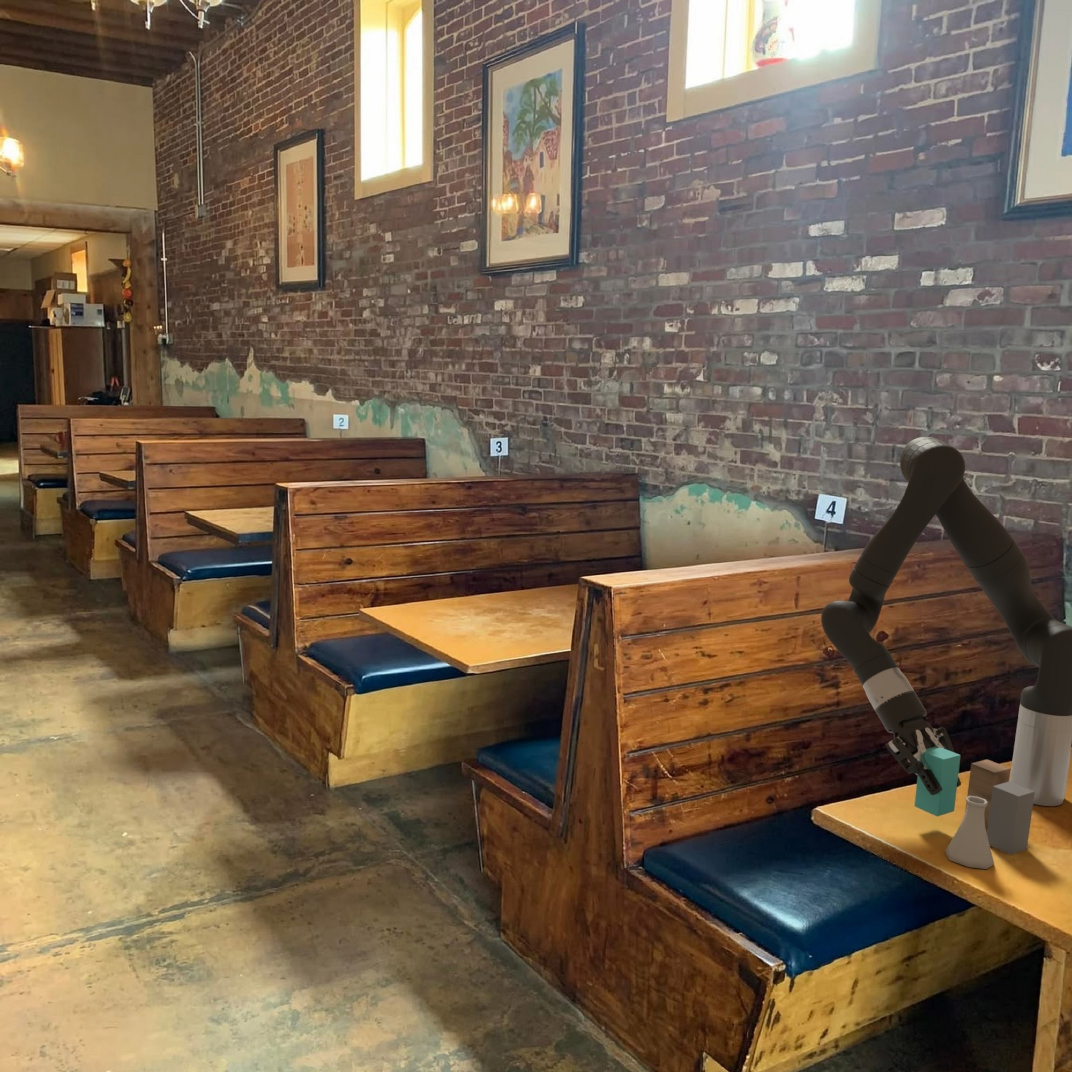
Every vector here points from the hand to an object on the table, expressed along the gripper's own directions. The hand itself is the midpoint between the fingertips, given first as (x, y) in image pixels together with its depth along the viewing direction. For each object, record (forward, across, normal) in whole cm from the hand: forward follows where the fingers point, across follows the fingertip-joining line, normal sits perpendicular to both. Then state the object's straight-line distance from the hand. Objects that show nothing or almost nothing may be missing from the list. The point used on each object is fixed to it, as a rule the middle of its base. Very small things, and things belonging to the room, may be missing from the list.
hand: (946, 789), depth 166 cm
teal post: (+2, 0, +4) cm, 5 cm away
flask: (+11, -4, 0) cm, 12 cm away
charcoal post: (+11, +6, 0) cm, 13 cm away
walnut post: (+6, +12, +6) cm, 14 cm away
